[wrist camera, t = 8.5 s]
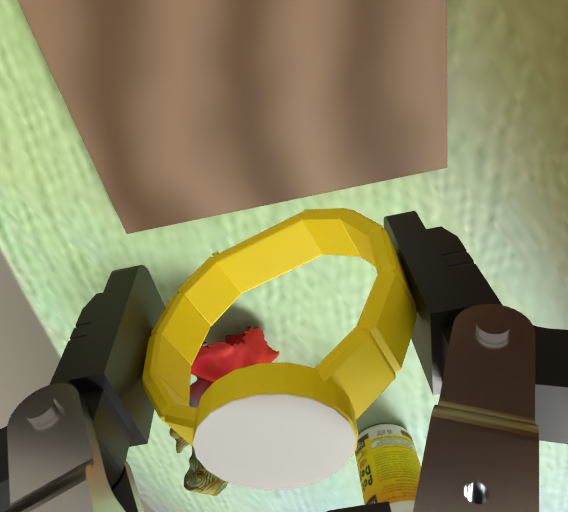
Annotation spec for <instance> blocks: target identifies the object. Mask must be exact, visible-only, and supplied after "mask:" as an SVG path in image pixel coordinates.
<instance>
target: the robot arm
mask: <svg viewBox="0 0 568 512" xmlns="http://www.w3.org/2000/svg"><path fill="white" fill-rule="evenodd" d="M384 230H386V231H387V233H388V235H389V238H390V240H391V242H392V244H393V246H394V248H395V250H396V252H397V254H398V256H399V258H400V261H401V264H402V267H403V270H404V272H405V275H406V278H407V281H408V284H409V287H410V290H411V293H412V295H413V298H414V301H415V304H416V312H415V313H416V315H417V320H416V324H415V327H414V330H413V333H412V336H411V339H412V342H413V344H414V347H415V349H416V352H417V355H418V357H419V360H420V362H421V365H422V368H423V370H424V373H425V375H426V378H427V381H428V383H429V386H430V389H431V391H432V394H433V395H436V394H440V398H439V403H438V405H435V406H434V408H433V411H432V415H431V419H430V424H429V430H428V435H427V440H426V445H425V451H424V456H423V461H422V466H421V472H420V477H419V482H418V487H417V492H416V498H415V503H414V508H413V512H539V440H541V441H548V442H556V443H564V444H568V330H561V329H548V328H542V327H537V326H534V325H532V323H531V322H530V320H529V319H528V318H527V317H526V316H524V315H523V314H522V313H520V312H518V311H517V310H515V309H512V308H510V307H506V306H503V305H502V304H501V302H500V301H499V299H498V298H497V296H496V294H495V293H494V291H493V290H492V288H491V287H490V285H489V284H488V282H487V281H486V279H485V278H484V276H483V275H482V273H481V272H480V270H479V269H478V267H477V266H476V264H474V261H473V259H472V258H471V256H470V255H469V253H467V252H466V249H465V247H464V246H463V244H462V243H461V241H460V240H459V238H458V237H457V236H456V235H454V234H453V233H451V232H449V231H448V230H446V229H444V228H443V227H436V228H431V229H426V228H425V227H424V225H423V223H422V221H421V220H420V218H419V216H418V214H417V213H416V212H415V211H411V212H406V213H401V214H396V215H391V216H386V217H384ZM164 310H165V306H164V304H163V302H162V300H161V297H160V295H159V293H158V291H157V289H156V286H155V284H154V282H153V280H152V278H151V275H150V273H149V271H148V270H147V268H146V267H145V266H144V265H139V266H134V267H129V268H124V269H119V270H114V271H113V272H112V273H111V275H110V277H109V280H108V282H107V285H106V287H105V290H104V292H103V293H99V294H96V295H95V296H94V297H93V298H92V299H91V300H90V302H89V303H88V304H87V305H86V306H85V307H84V308H83V309H82V312H81V314H80V316H79V318H78V321H77V323H76V328H74V330H73V332H72V334H71V337H70V339H71V340H70V341H68V343H67V346H66V348H65V350H64V353H63V355H62V357H61V359H60V362H59V364H58V367H57V369H56V371H55V373H54V376H53V378H52V380H51V383H50V385H48V386H45V387H43V388H40V389H39V390H37V391H35V392H34V393H32V394H31V395H29V396H28V397H27V398H25V399H24V400H23V401H22V402H21V403H20V404H19V405H18V407H17V408H16V409H15V410H14V412H13V413H12V415H11V417H10V419H9V421H8V425H7V426H6V427H4V428H2V429H0V512H144V511H143V507H142V504H141V501H140V497H139V494H138V491H137V487H136V484H135V481H134V477H133V474H132V471H131V468H130V466H129V464H128V463H127V461H126V457H127V452H128V448H129V447H131V446H136V445H142V444H147V443H148V438H149V433H150V428H151V423H152V418H153V413H154V406H153V405H152V403H151V401H150V399H149V397H148V396H147V394H146V392H145V390H144V388H143V381H142V376H143V370H144V364H145V358H146V352H147V347H148V341H149V337H151V332H152V330H153V328H154V327H155V325H156V323H157V322H158V320H159V318H160V316H161V315H162V313H163V311H164ZM327 512H391V508H390V504H389V501H386V502H380V503H374V504H368V505H361V506H355V507H349V508H342V509H336V510H330V511H327Z"/></svg>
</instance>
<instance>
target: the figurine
mask: <svg viewBox="0 0 568 512" xmlns="http://www.w3.org/2000/svg"><path fill="white" fill-rule="evenodd" d="M247 328H250V329H249V330H247V331H244V332H243V333H242V334H240V335H236V336H234V335H226V336H225V340H226V343H225V342H220V341H219V342H217V343H215V344H212V345H208V346H201V347H200V349H199V351H198V353H197V355H196V357H195V359H194V361H193V364H192V366H191V374H193V375H195V376H196V377H197V381H196V382H194V383H193V384H191V385H190V398H189V405H190V407H194V408H198V405H199V402H200V399H201V396H202V395H203V394H204V392H205V391H206V390H207V389H208V388H209V387H210V386H211V385H212V384H213V383H214V382H215V381H216V380H218V379H219V378H221V377H223V376H225V375H227V374H228V373H230V372H232V371H234V370H237V369H240V368H244V367H248V366H252V365H255V364H261V363H271V362H272V361H273V360H274V359H275V358H276V357H277V356H278V355H279V351H277V352H276V351H274V350H272V348H270V347H269V346H268V345H267V342H266V341H265V340H264V334H263V331H262V330H261V329H259V328H257V327H256V329H254V328H251V327H247ZM205 343H207V342H203V343H202V345H203V344H205ZM170 436H171V437H173V438H175V440H176V450H177V453H180V452H181V451H182V449H183V448H184V447H186V446H187V445H188V444H189V443H188V442H187V441H186V440H185V439H183V438H182V437H181V436H180V435H179V434H178V433H177V432H176V431H174V430H173V429H172V428H171V429H170ZM189 462H190V468H189V470H188V472H187V473H186V475H185V477H184V487H185V488H186V489H187V490H189V491H193V492H198V493H202V494H210V495H212V496H217V495H218V494H219V493H220V492H221V491H222V490H223V489H224V488H225V487H226V486H227V484H228V483H229V482H227V481H224V480H222V479H220V478H218V477H217V476H215V475H214V474H212V473H211V472H209V471H207V470H206V469H205V467H204V466H203V465H202V464H201V462H200V461H199V460H198V459H197V458H196V454H195V450H194V447H193V446H192V456H191V457H190V459H189Z"/></svg>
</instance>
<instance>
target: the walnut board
mask: <svg viewBox="0 0 568 512" xmlns="http://www.w3.org/2000/svg"><path fill="white" fill-rule="evenodd" d="M18 2H19V4H20V6H21V8H22V10H23V12H24V15H25V17H26V19H27V21H28V23H29V25H30V27H31V30H32V32H33V34H34V36H35V38H36V40H37V42H38V45H39V47H40V49H41V51H42V53H43V55H44V57H45V60H46V62H47V64H48V66H49V68H50V70H51V72H52V75H53V77H54V79H55V81H56V83H57V85H58V87H59V90H60V92H61V94H62V96H63V98H64V100H65V102H66V105H67V107H68V109H69V111H70V113H71V115H72V118H73V120H74V122H75V124H76V126H77V128H78V130H79V133H80V135H81V137H82V139H83V141H84V143H85V145H86V148H87V150H88V152H89V154H90V156H91V158H92V160H93V163H94V165H95V167H96V169H97V171H98V173H99V175H100V178H101V180H102V182H103V184H104V186H105V188H106V190H107V193H108V195H109V197H110V199H111V201H112V203H113V206H114V208H115V210H116V212H117V214H118V216H119V218H120V221H121V223H122V225H123V227H124V229H125V231H126V233H127V234H129V233H134V232H139V231H143V230H148V229H153V228H158V227H163V226H167V225H172V224H177V223H182V222H187V221H192V220H196V219H201V218H206V217H211V216H216V215H221V214H225V213H230V212H235V211H240V210H245V209H249V208H254V207H259V206H264V205H269V204H274V203H278V202H283V201H288V200H293V199H298V198H303V197H307V196H312V195H317V194H322V193H327V192H332V191H336V190H341V189H346V188H351V187H356V186H360V185H365V184H370V183H375V182H380V181H385V180H389V179H394V178H399V177H404V176H409V175H414V174H418V173H423V172H428V171H433V170H438V169H443V168H447V0H18Z"/></svg>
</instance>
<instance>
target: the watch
mask: <svg viewBox="0 0 568 512" xmlns="http://www.w3.org/2000/svg"><path fill="white" fill-rule="evenodd" d="M324 254H326V255H344V256H361V257H362V258H363V259H365V260H366V261H368V262H369V263H371V264H372V265H374V266H375V267H376V269H377V273H378V275H377V277H376V280H375V282H374V285H373V287H372V289H371V292H370V294H369V297H368V299H367V302H366V304H365V307H364V309H363V311H362V314H361V316H360V319H359V321H358V324H357V326H356V327H355V328H354V329H353V330H352V331H351V332H350V333H349V334H348V335H347V336H346V337H345V338H344V339H343V340H342V341H341V342H340V343H339V344H338V345H337V346H336V347H335V348H334V349H333V350H332V351H331V352H330V354H329V355H328V356H327V357H326V358H325V359H324V360H323V361H322V362H321V363H320V364H319V365H318V366H317V367H316V368H315V369H314V368H311V367H307V366H302V365H296V364H291V363H261V364H255V365H252V366H248V367H244V368H240V369H237V370H234V371H232V372H230V373H228V374H227V375H225V376H223V377H221V378H219V379H218V380H216V381H215V382H214V383H213V384H212V385H211V386H210V387H209V388H208V389H207V390H206V391H205V392H204V394H203V395H202V396H201V399H200V402H199V405H198V408H194V407H190V405H189V398H190V378H191V366H192V364H193V361H194V359H195V357H196V355H197V353H198V351H199V349H200V347H201V345H202V343H203V341H204V339H205V337H206V335H207V333H208V331H209V329H210V326H212V325H213V324H214V323H215V322H216V321H217V320H218V319H219V318H220V316H221V315H222V314H223V313H224V312H225V311H226V310H227V309H228V308H229V307H230V306H231V305H232V304H233V302H234V301H235V300H236V299H237V298H238V297H239V296H240V295H241V294H242V293H244V292H246V291H248V290H251V289H253V288H255V287H257V286H259V285H261V284H263V283H265V282H267V281H269V280H272V279H274V278H276V277H278V276H280V275H282V274H284V273H286V272H288V271H291V270H293V269H295V268H297V267H299V266H301V265H303V264H305V263H307V262H309V261H312V260H314V259H316V258H318V257H320V256H322V255H324ZM212 255H213V256H214V257H210V258H209V259H208V260H207V261H206V262H205V263H204V264H203V265H202V266H201V267H200V268H199V269H198V270H197V271H196V272H195V273H194V274H193V275H192V276H191V277H190V278H189V279H188V280H187V281H186V282H185V283H184V284H183V285H182V286H181V287H180V288H179V289H178V290H177V294H174V295H173V296H172V298H171V300H170V301H169V303H168V305H167V306H166V308H165V310H164V311H163V313H162V315H161V316H160V318H159V320H158V322H157V323H156V325H155V327H154V328H153V330H152V332H151V337H149V341H148V347H147V352H146V358H145V364H144V370H143V376H142V381H143V388H144V390H145V392H146V394H147V396H148V397H149V399H150V401H151V403H152V405H153V406H154V408H155V410H156V412H157V414H158V416H159V417H160V418H161V419H162V420H163V421H164V422H165V423H166V424H168V425H169V426H170V427H171V428H172V429H173V430H174V431H176V432H177V433H178V434H179V435H180V436H181V437H182V438H183V439H185V440H186V441H187V442H188V443H189V444H190V445H191V446H193V447H194V450H195V454H196V458H197V459H198V460H199V461H200V462H201V464H202V465H203V466H204V467H205V469H206V470H207V471H209V472H211V473H212V474H214V475H215V476H217V477H218V478H220V479H222V480H224V481H227V482H229V483H232V484H235V485H238V486H241V487H246V488H253V489H260V490H289V489H294V488H299V487H304V486H308V485H312V484H314V483H317V482H319V481H322V480H324V479H326V478H329V477H331V476H332V475H333V474H335V473H336V472H337V471H339V470H340V469H341V468H343V467H344V466H345V465H346V464H347V463H348V462H349V460H350V459H351V457H352V455H353V454H354V452H355V451H356V448H357V441H358V428H357V422H356V420H357V419H358V418H359V417H360V416H361V415H362V414H363V412H364V411H365V410H366V409H367V408H368V407H369V406H370V405H371V404H372V403H373V402H374V401H375V400H376V398H377V397H378V396H379V395H380V394H381V393H382V392H383V391H384V390H385V389H386V388H387V387H388V386H389V384H390V383H391V382H392V381H393V380H394V379H395V372H397V371H399V370H400V369H401V367H402V364H403V361H404V358H405V355H406V352H407V349H408V346H409V342H410V339H411V336H412V333H413V330H414V327H415V324H416V320H417V315H416V313H415V312H416V304H415V301H414V298H413V295H412V293H411V290H410V287H409V284H408V281H407V278H406V275H405V272H404V270H403V267H402V264H401V261H400V258H399V256H398V254H397V252H396V250H395V248H394V246H393V244H392V242H391V240H390V238H389V235H388V233H387V231H386V230H384V229H383V227H382V226H381V225H380V224H378V223H376V222H374V221H372V220H370V219H369V218H367V217H365V216H363V215H361V214H359V213H358V212H356V211H354V210H350V209H348V210H347V209H345V208H337V209H306V210H304V211H303V212H301V213H299V214H297V215H295V216H293V217H291V218H289V219H287V220H285V221H283V222H281V223H279V224H277V225H275V226H273V227H271V228H269V229H267V230H265V231H263V232H261V233H259V234H257V235H255V236H253V237H251V238H249V239H247V240H245V241H243V242H241V243H239V244H237V245H235V246H233V247H231V248H229V249H227V250H225V251H223V252H221V253H218V251H217V252H215V253H213V254H212Z"/></svg>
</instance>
